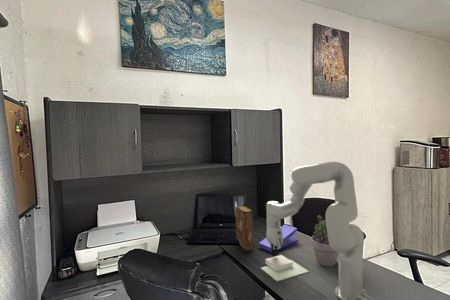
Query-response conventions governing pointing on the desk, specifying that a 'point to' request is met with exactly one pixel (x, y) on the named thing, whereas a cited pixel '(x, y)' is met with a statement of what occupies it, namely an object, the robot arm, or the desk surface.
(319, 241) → the potted plant
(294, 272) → the desk mat
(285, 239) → the stapler
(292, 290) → the desk surface
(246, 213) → the book
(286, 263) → the tile
